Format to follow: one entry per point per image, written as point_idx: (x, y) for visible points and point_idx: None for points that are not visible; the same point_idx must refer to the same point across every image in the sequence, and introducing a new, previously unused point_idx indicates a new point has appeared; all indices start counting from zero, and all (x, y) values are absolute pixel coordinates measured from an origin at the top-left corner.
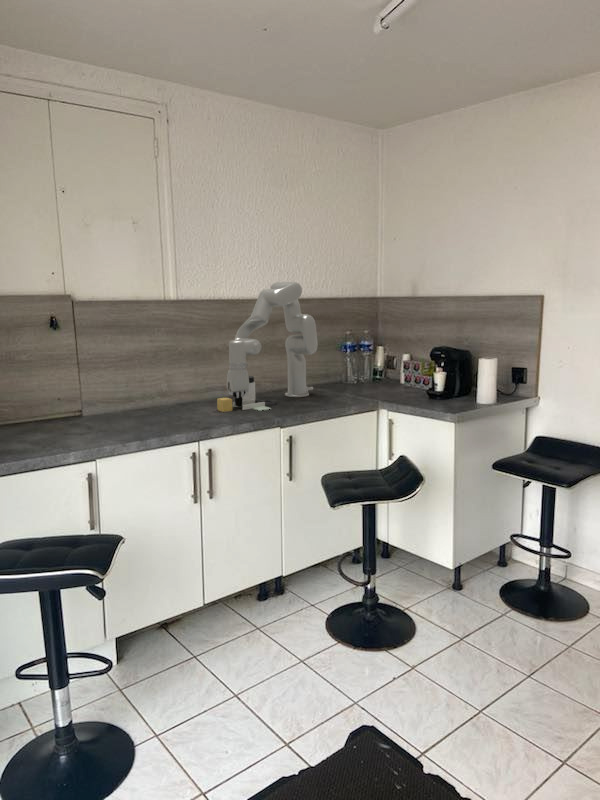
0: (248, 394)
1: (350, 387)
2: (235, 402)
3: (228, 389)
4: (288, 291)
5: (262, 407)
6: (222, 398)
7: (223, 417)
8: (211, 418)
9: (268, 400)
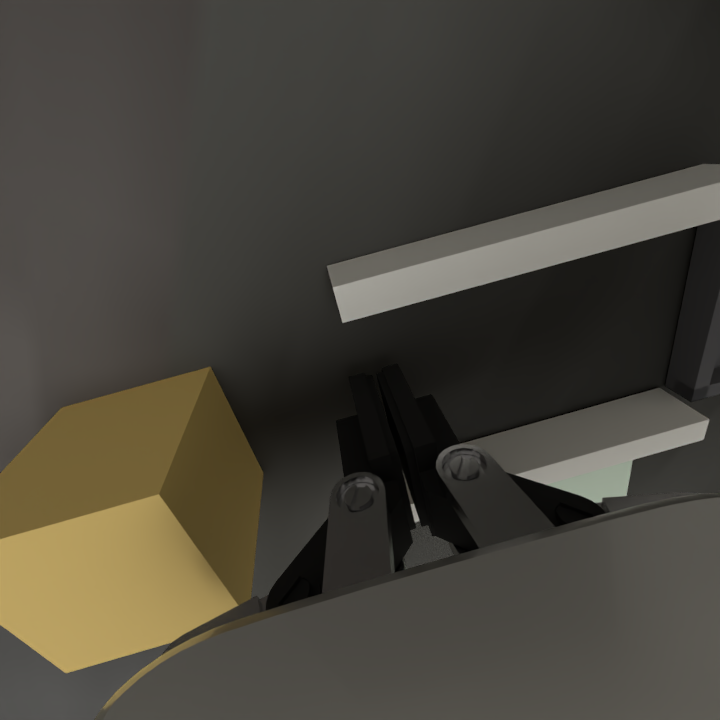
0: None
1: None
2: (339, 438)
3: (160, 685)
4: None
5: (580, 491)
6: (56, 561)
7: (132, 666)
8: (16, 680)
9: None
